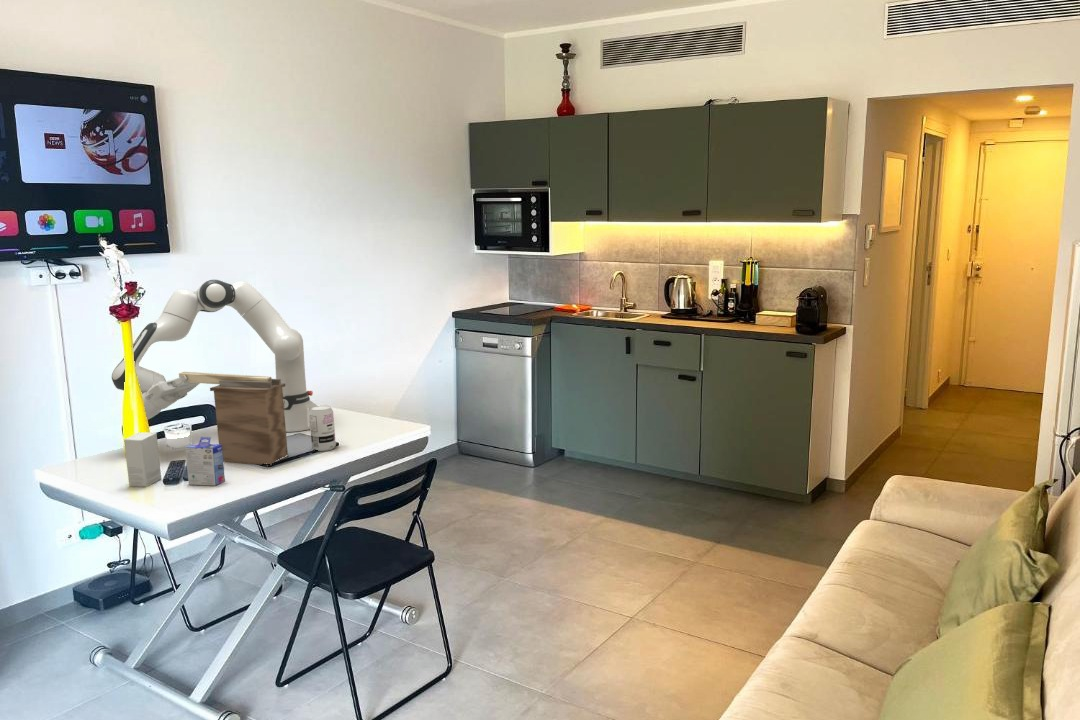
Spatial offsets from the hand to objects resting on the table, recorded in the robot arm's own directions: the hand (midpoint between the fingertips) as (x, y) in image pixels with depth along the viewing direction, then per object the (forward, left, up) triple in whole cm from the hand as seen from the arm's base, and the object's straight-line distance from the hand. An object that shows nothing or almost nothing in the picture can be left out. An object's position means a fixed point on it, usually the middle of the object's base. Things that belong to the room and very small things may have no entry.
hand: (190, 375), depth 291 cm
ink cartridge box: (+26, +24, -29) cm, 46 cm away
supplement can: (-17, +40, -29) cm, 52 cm away
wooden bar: (0, +14, -2) cm, 14 cm away
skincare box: (+30, +4, -29) cm, 42 cm away
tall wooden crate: (0, +23, -29) cm, 37 cm away
